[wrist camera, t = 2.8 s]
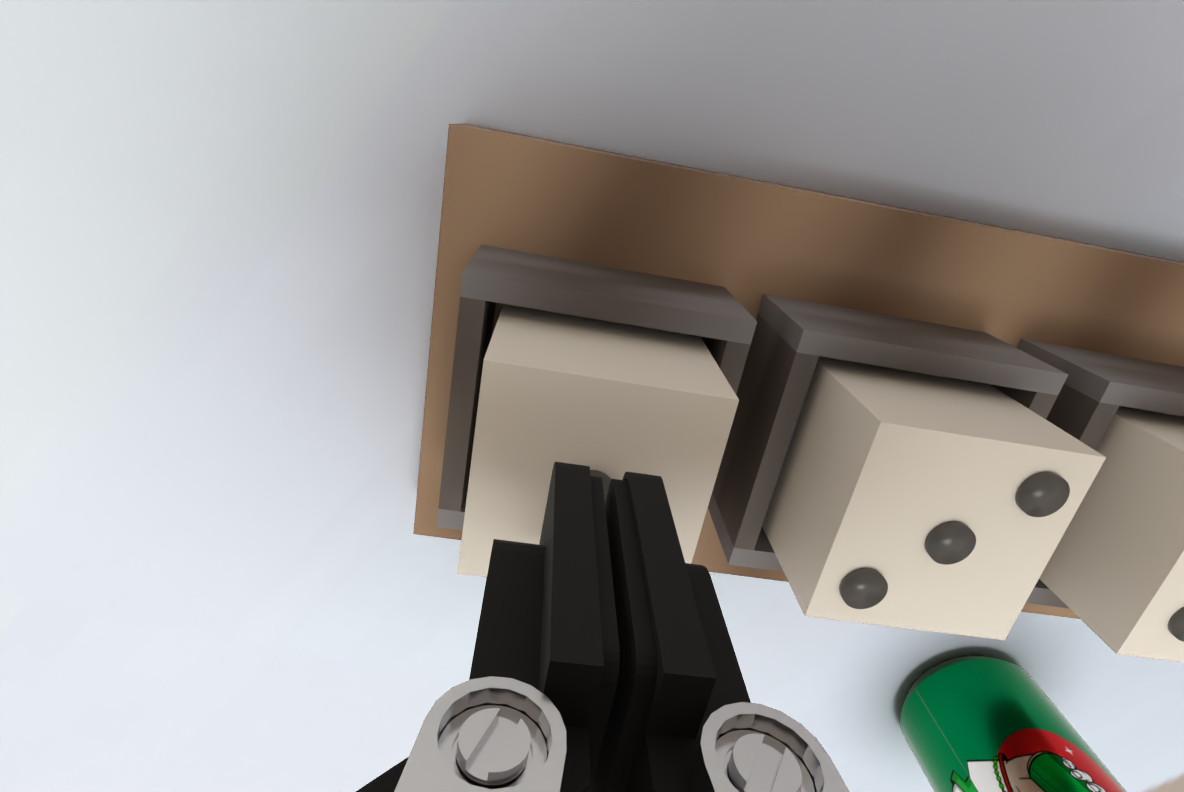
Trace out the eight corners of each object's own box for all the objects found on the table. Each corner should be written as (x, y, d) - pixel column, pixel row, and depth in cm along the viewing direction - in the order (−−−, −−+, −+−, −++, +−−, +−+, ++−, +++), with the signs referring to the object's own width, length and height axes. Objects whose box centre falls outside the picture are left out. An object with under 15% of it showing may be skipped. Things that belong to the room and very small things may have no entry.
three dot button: (990, 384, 15) (1112, 461, 12) (920, 540, 17) (1008, 645, 13) (812, 355, 15) (885, 425, 11) (758, 517, 16) (807, 621, 13)
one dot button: (700, 337, 14) (741, 403, 11) (657, 504, 16) (681, 605, 13) (502, 304, 14) (482, 363, 10) (480, 479, 16) (456, 578, 12)
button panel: (1238, 273, 18) (1464, 324, 14) (1061, 581, 22) (1189, 699, 18) (462, 124, 16) (420, 125, 11) (427, 496, 20) (386, 606, 16)
